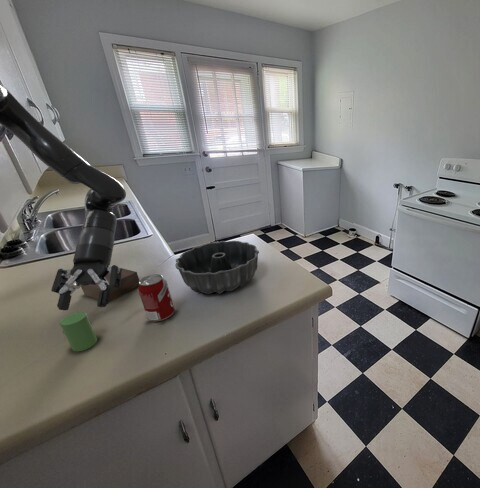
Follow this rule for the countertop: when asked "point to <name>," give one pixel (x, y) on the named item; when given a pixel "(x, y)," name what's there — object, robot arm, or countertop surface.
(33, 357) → the countertop surface
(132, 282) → the walnut block
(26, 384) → the countertop surface
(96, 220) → the robot arm
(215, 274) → the bundt pan
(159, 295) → the soda can
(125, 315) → the countertop surface
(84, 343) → the green cylinder
